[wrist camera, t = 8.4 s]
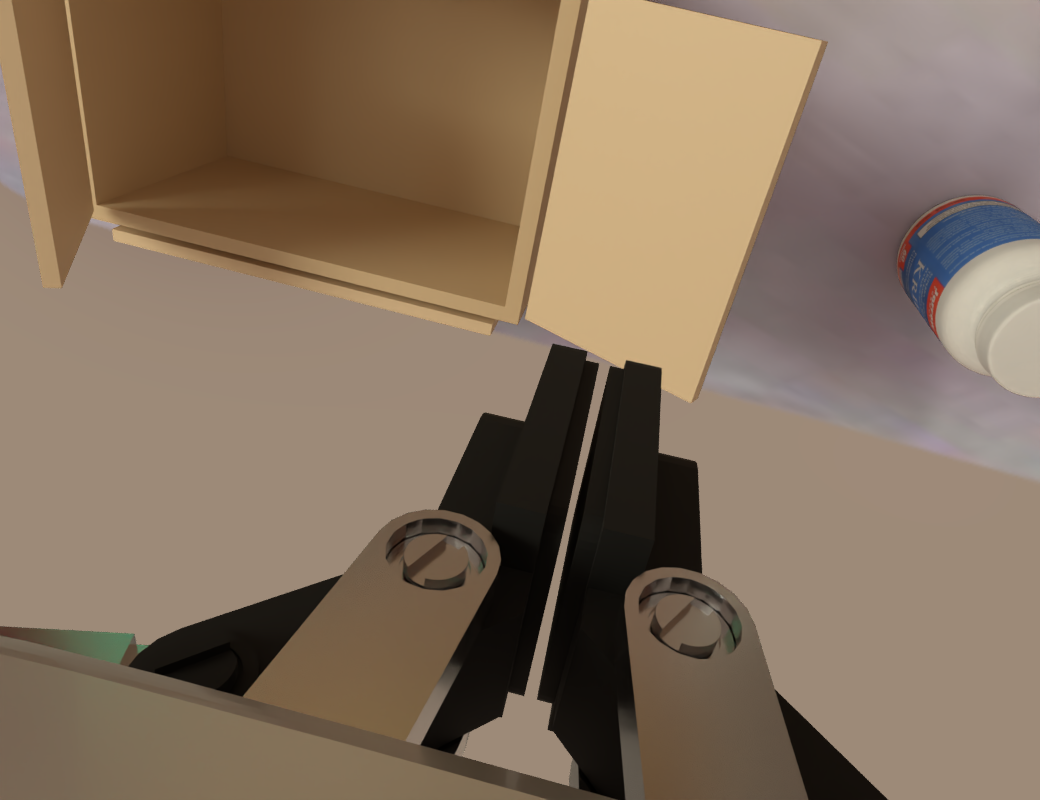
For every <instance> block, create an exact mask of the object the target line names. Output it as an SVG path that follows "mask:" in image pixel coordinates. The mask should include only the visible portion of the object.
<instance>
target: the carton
mask: <svg viewBox="0 0 1040 800" xmlns="http://www.w3.org/2000/svg"><path fill="white" fill-rule="evenodd" d="M588 2H589V0H65V8H66V15H67V22H68V29H69V36H70V43H71V50H72V58H73V65H74V72H75V79H76V86H77V93H78V100H79V108H80V115H81V122H82V129H83V136H84V143H85V150H86V158H87V165H88V172H89V179H90V186H91V193H92V200H93V208H94V212H93V214H92V217H91V218H94V219H98V220H102V221H106V222H110V223H114V224H118V225H120V226H118V227H116V228H113V229H112V231H113V238H114V241H117V242H121V243H126V244H129V245H133V246H137V247H141V248H145V249H149V250H153V251H156V252H161V253H164V254H169V255H173V256H176V257H180V258H185V259H188V260H192V261H196V262H200V263H204V264H208V265H212V266H216V267H220V268H224V269H228V270H232V271H236V272H240V273H244V274H248V275H251V276H255V277H259V278H263V279H267V280H272V281H276V282H279V283H284V284H287V285H291V286H295V287H299V288H303V289H307V290H311V291H315V292H319V293H323V294H327V295H331V296H334V297H338V298H342V299H347V300H350V301H354V302H359V303H362V304H367V305H371V306H374V307H378V308H382V309H386V310H390V311H394V312H398V313H402V314H406V315H410V316H414V317H418V318H422V319H426V320H429V321H434V322H437V323H441V324H445V325H449V326H454V327H457V328H461V329H465V330H470V331H473V332H477V333H481V334H485V335H489V336H490V335H491V334H492V332H493V330H494V328H495V326H496V324H497V323H498V321H499V320H500V321H504V322H508V323H512V324H516V325H518V323H519V321H520V319H521V317H522V315H523V313H524V311H525V309H526V306H527V304H528V301H529V297H530V292H531V287H532V282H533V277H534V272H535V267H536V262H537V257H538V252H539V247H540V242H541V237H542V232H543V227H544V222H545V217H546V212H547V207H548V202H549V197H550V192H551V187H552V182H553V177H554V172H555V167H556V162H557V157H558V152H559V147H560V142H561V137H562V132H563V127H564V122H565V117H566V112H567V107H568V102H569V97H570V92H571V87H572V82H573V77H574V72H575V67H576V62H577V57H578V52H579V47H580V42H581V37H582V32H583V27H584V22H585V17H586V12H587V7H588Z"/></svg>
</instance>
